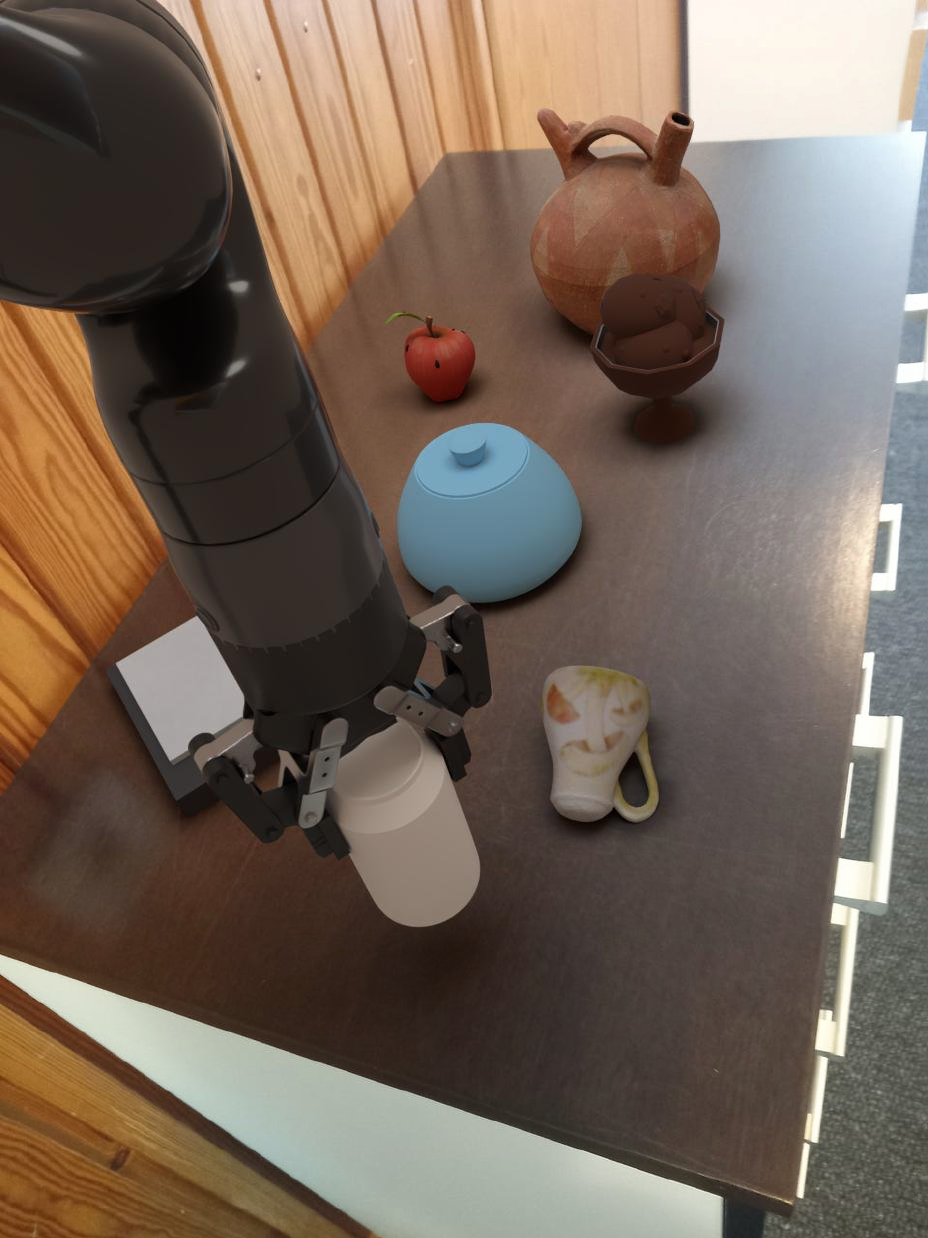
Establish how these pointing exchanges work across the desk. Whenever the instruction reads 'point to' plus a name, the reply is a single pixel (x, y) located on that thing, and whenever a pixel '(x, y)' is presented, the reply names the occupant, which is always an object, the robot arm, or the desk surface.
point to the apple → (438, 359)
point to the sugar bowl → (486, 514)
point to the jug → (620, 214)
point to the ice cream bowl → (657, 347)
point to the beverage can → (405, 826)
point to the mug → (596, 740)
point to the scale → (182, 706)
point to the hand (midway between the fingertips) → (394, 806)
